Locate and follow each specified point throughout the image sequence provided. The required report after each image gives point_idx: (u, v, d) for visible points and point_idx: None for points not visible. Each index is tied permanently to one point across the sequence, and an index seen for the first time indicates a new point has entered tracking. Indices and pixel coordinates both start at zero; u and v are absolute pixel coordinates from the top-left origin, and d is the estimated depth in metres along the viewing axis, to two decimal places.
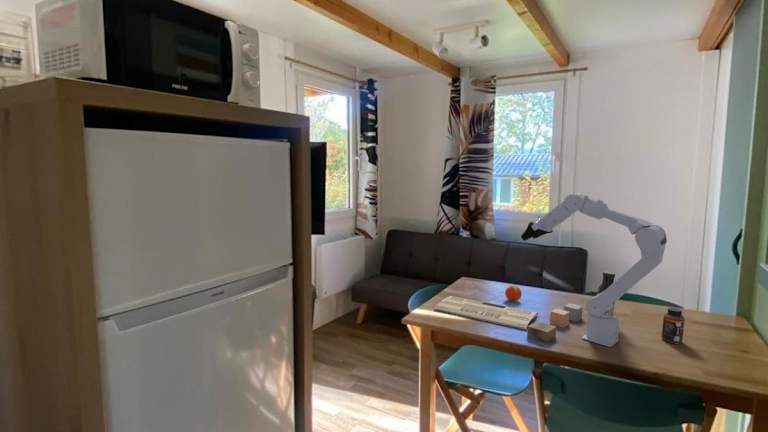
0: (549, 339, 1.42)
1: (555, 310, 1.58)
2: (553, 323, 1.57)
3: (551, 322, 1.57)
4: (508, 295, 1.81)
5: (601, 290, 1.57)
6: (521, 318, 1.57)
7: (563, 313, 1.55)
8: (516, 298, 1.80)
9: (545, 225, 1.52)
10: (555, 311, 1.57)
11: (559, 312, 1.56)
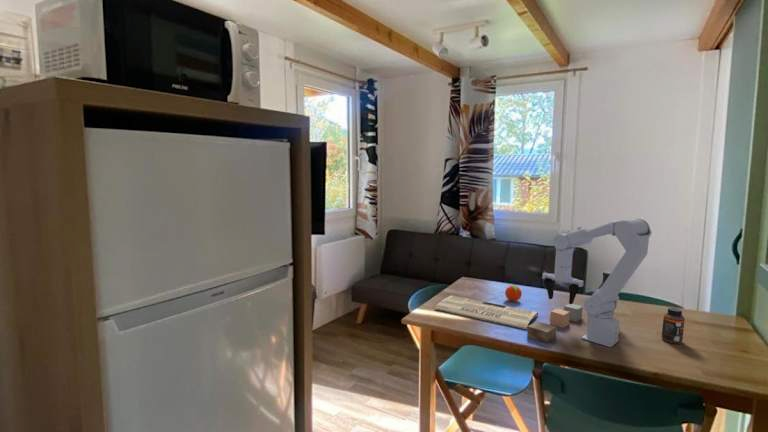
0: (549, 339, 1.42)
1: (555, 310, 1.58)
2: (553, 323, 1.57)
3: (551, 322, 1.57)
4: (508, 295, 1.81)
5: None
6: (521, 318, 1.58)
7: (563, 313, 1.55)
8: (516, 298, 1.80)
9: (554, 274, 1.57)
10: (555, 311, 1.57)
11: (559, 312, 1.56)
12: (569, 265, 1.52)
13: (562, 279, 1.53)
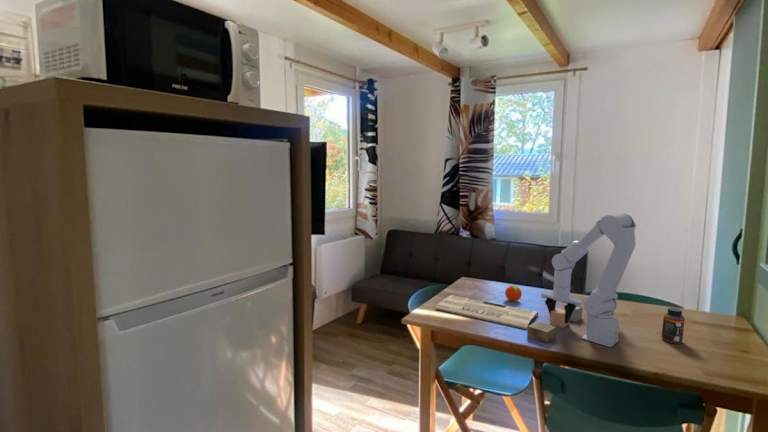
0: (549, 339, 1.42)
1: (555, 310, 1.58)
2: (553, 323, 1.57)
3: (551, 322, 1.57)
4: (508, 295, 1.81)
5: None
6: (521, 318, 1.58)
7: (563, 313, 1.55)
8: (516, 298, 1.80)
9: (553, 294, 1.58)
10: (555, 311, 1.57)
11: (559, 312, 1.56)
12: (568, 285, 1.53)
13: (561, 299, 1.54)
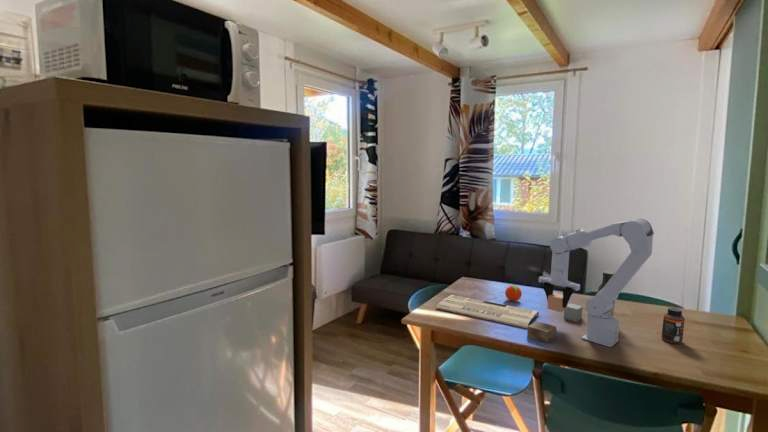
0: (549, 339, 1.42)
1: (553, 294, 1.55)
2: (551, 307, 1.53)
3: (549, 306, 1.54)
4: (508, 295, 1.81)
5: None
6: (522, 317, 1.59)
7: (561, 297, 1.52)
8: (516, 298, 1.80)
9: None
10: (553, 295, 1.54)
11: (557, 296, 1.53)
12: (567, 268, 1.50)
13: (558, 283, 1.50)
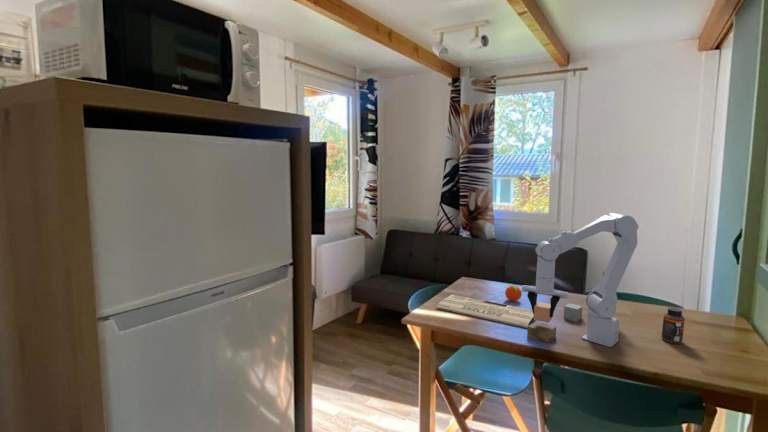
0: (549, 339, 1.42)
1: (538, 304, 1.45)
2: (537, 318, 1.43)
3: (535, 317, 1.44)
4: (508, 295, 1.81)
5: None
6: (522, 316, 1.59)
7: (548, 306, 1.43)
8: (516, 298, 1.80)
9: (535, 286, 1.44)
10: (538, 305, 1.44)
11: (544, 306, 1.43)
12: None
13: (546, 292, 1.40)
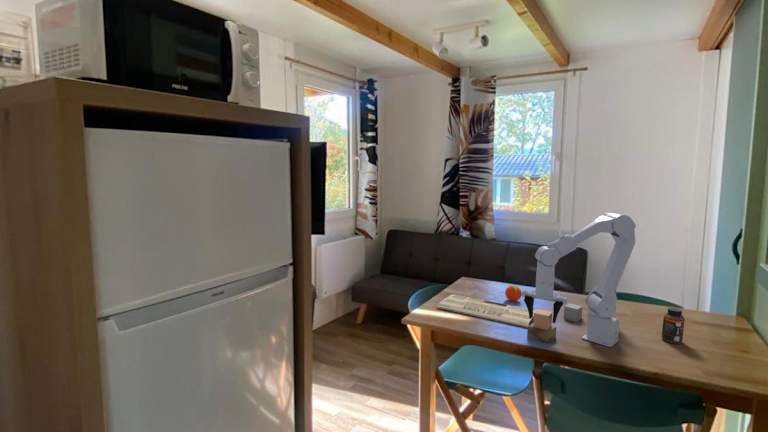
0: (549, 339, 1.42)
1: (537, 311, 1.45)
2: (537, 325, 1.44)
3: (534, 324, 1.44)
4: (508, 295, 1.81)
5: None
6: (522, 316, 1.59)
7: (548, 314, 1.43)
8: (516, 298, 1.80)
9: (535, 291, 1.44)
10: (538, 312, 1.44)
11: (543, 313, 1.43)
12: None
13: (545, 297, 1.41)
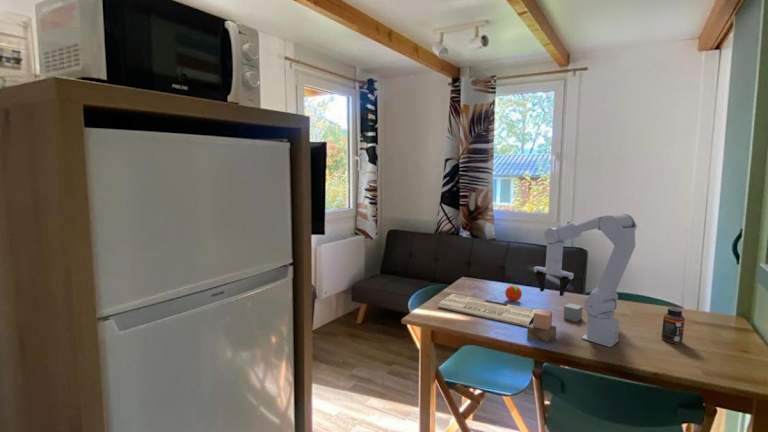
0: (549, 339, 1.42)
1: (537, 311, 1.45)
2: (537, 325, 1.44)
3: (534, 324, 1.44)
4: (508, 295, 1.81)
5: None
6: (523, 316, 1.60)
7: (548, 314, 1.43)
8: (516, 298, 1.80)
9: (545, 267, 1.61)
10: (538, 312, 1.44)
11: (543, 313, 1.43)
12: (559, 258, 1.57)
13: (553, 272, 1.57)
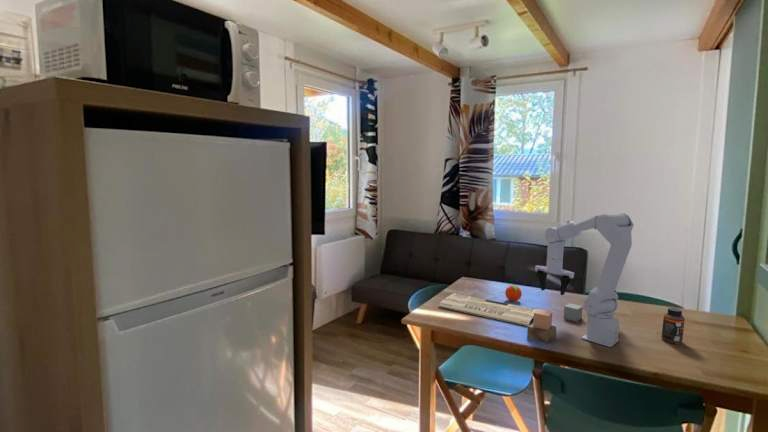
0: (549, 339, 1.42)
1: (537, 311, 1.45)
2: (537, 325, 1.44)
3: (534, 324, 1.44)
4: (508, 295, 1.81)
5: None
6: (523, 315, 1.61)
7: (548, 314, 1.43)
8: (516, 298, 1.80)
9: None
10: (538, 312, 1.44)
11: (543, 313, 1.43)
12: (560, 257, 1.58)
13: (554, 271, 1.59)
